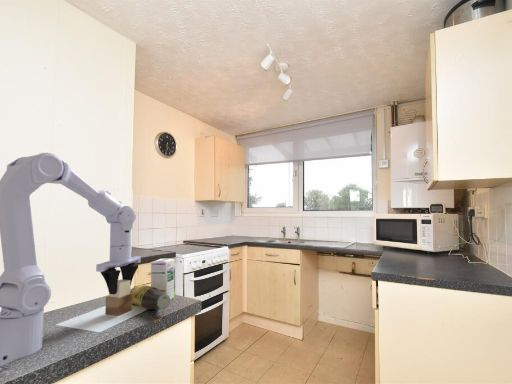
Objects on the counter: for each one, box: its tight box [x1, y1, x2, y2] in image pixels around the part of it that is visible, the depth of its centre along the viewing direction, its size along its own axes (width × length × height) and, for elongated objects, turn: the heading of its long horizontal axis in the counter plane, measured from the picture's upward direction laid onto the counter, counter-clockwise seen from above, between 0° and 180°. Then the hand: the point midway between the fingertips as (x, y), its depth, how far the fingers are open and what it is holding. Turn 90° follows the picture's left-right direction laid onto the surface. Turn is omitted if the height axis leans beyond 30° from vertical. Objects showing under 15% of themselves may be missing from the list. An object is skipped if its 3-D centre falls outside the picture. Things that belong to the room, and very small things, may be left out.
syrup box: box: [150, 257, 176, 303], centre depth 89 cm, size 6×6×14 cm
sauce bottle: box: [130, 284, 171, 310], centre depth 83 cm, size 7×6×20 cm
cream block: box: [108, 279, 131, 298], centre depth 79 cm, size 4×4×4 cm
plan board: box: [55, 304, 149, 333], centre depth 76 cm, size 18×16×1 cm
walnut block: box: [105, 293, 133, 316], centre depth 79 cm, size 5×5×5 cm
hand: (119, 291), depth 79 cm, fingers open, 4 cm apart
